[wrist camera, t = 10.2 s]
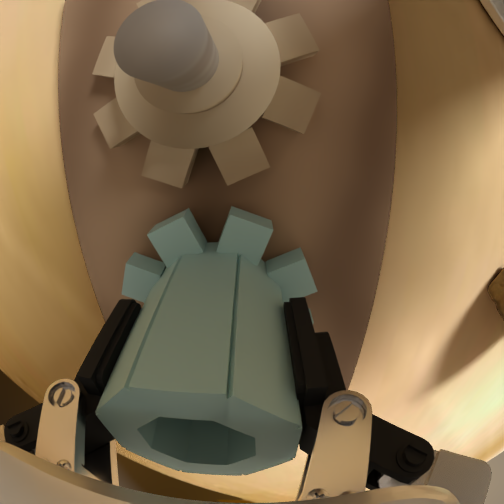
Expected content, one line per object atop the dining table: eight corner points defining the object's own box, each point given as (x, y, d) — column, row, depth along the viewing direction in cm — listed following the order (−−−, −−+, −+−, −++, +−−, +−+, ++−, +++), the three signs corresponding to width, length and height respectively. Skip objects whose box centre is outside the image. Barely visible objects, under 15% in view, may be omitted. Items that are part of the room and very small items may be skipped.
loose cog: (317, 204, 10) (401, 326, 4) (304, 357, 14) (325, 479, 8) (113, 213, 11) (2, 319, 4) (153, 357, 14) (119, 470, 8)
